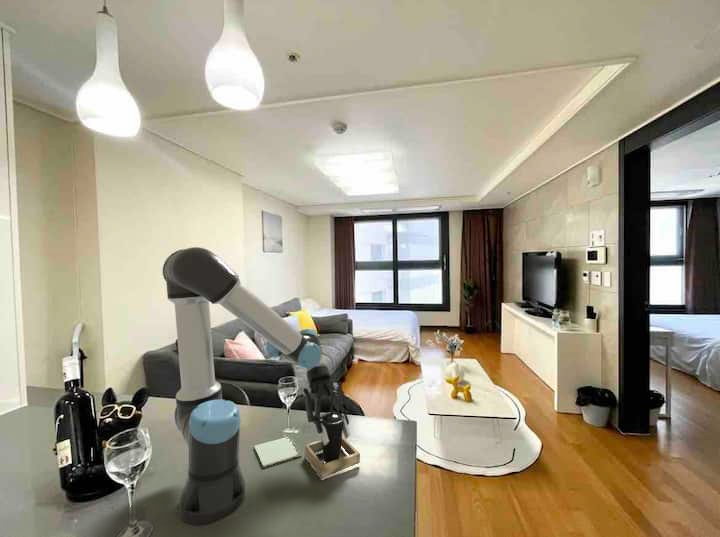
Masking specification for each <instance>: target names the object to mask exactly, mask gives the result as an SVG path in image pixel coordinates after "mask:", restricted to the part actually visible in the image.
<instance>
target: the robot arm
mask: <svg viewBox="0 0 720 537" xmlns="http://www.w3.org/2000/svg"><path fill="white" fill-rule="evenodd" d="M162 275H163V276H162V277H163V279H164V281H165V282H166V294H167V300H168V301H170V302H171V303H173V305H174V311H175V313H174V314H175V326H176V337H177V349H178V350H177V351H178V360H179V361H178V363H179V374H180V385H181V387H180V389H179V390H178V391H177V393H176V395H175V402H176V405H175V410H174V422H175V426H176V427H177V429H178V430H179V431H180V433H181V435H182V438H183V439H184V441H185V442H186V445H187V447H188V461H187V462H188V463H187V464H188V465H187V471H188V472H187V478H186V481H185V484H184V487H183V490H182V493H181V496H180V498H179V503H178V504H179V505H178V508H179V510H178V512H179V513H178V514H179V517H180V518H181V519H182V521H184V522H185V523H188V524H191V525H206V524H211V523H215V522H218V521H221V520H222V519H225V518H227V517H228V516H230V515H232V514H233V513H234V512H236V510H238V508H240V507H241V505H242V504H243V502H244V500H245V497H246V481H245V478H244V475H243V472H242V470H241V467H240V464H239V463H240V433H241V432H240V430H241V428H240V426H241V415H240V409H239V406H238V405H237V404H236V403H234V402H233V401H231V400H226V399H223V394H222V393H223V392H222V391H223V390H222V385H221V383H220V382H218V381H216V376H215V363H214V351H213V338H212V337H213V336H212V327H211V326H212V324H211V311H210V303H211V304H212V305H216V304H219V305H220V306H222V307H223V308H224V309H225V310H227V311H228V312H230V313H231V314H232V315H234V316H235V317H236V318H237V319H238V320H239V321H241V322H242V323H244V324H245V325H246V326H247V327H249V328H250V329H252V330H253V331H254V332H255V333H257V334H258V335H260V336H261V337H262V338H263V339H264V340H266V347H265V349H266V353H267V355H268V356H269V357H273V358H283V359H285V360H287V361H289V362H293V363H295V364H296V365H299V366H300V367H301V368H304V371H305V373H306V378H307V382H308V386H309V387H307V388H306V387H305V388H303V390H302V391H301V394H302V397H303V399H304V404H305V411H306V415H307V416H306V417H307V422H308V423H313V424H314V425H315V428H316V432H317V434H320V435H321V436H320V437H321V440H323V444H324V445H327V443H328V442H329V439H328V435H327V432H326V428H325V427H324V425H323V424H322V423H320V421H322V420H323V419H321V420H320V416H321V406H322V404H321V402H322V398H327V400H329V401H330V402H331V397H333V408H335V409H336V412H337V413H340V414H341V415H343V416H344V421H343V429H342V434H343V435H344V436H343V437H344V438H345V439H346V440H347V439H348V438H349V437H350V436H351V432H350V430H349V429H350V428H349V423H350V421H349V418H348V415H347V414H348V412H349V411H350V410H351V406H350V404H349V402H348V400H347V397H346V394H345V392H344V391H343V387H342V382H341V381H338V382H334V381H333V380H332V378H331V374H330V371H329V368H328V367H327V366H328V365H327V362H326V359H325V356H324V353H323V350H322V349H323V348H322V346H321V342H320V338H319V337H318V334H317V332H316V330H314V329H313V328H306V329H305V328H303V329H302V330H299V331H298V330H296V329H295V328H294V327H293V326H292V325H291V324H290V323H289V322H287V321H286V320H285V319H284V318H283V317H281V315H279V314H278V313H277V312H276V311H275V310H273V309H272V308H271V307H270V306H269V305H268V304H266V303H265V302H264V301H263V300H262V299H261V298H259V296H257V295H256V294H255V293H254V292H253V291H251V290H250V289H249V288H247V286H246V285H244V284H243V283H242V282H241V277H240V275H239V274H237V273H236V272H235V271H234V269H232V268H231V267H230V266H229V265H228V264H226V262H225V261H223V260H222V259H221V258H220V257H219V256H218V255H217V254H215V253H214V252H213V251H211V250H209V249H206V248H204V247H197V246H195V247H194V246H193V247H188V248H183V249H179V250H175V251H174V252H172V253H171V254H170V255H168V257H167V258H166V259H165V261H164V263H163V266H162ZM333 388H334V390H335V391H334V390H333ZM335 392H336V394H335ZM311 394H313V395H314V410H313V404H312V398H311ZM336 395H337V396H336ZM232 512H233V513H232ZM229 514H230V515H229ZM224 517H225V518H224Z"/></svg>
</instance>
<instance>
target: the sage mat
mask: <svg viewBox="0 0 720 537" xmlns="http://www.w3.org/2000/svg"><path fill="white" fill-rule="evenodd" d="M288 437H289V436H286V437H282V438H279V439H278V438H277V439H275V440H271V441H266V442H263V443H261V444H260V443H259V444H256V445H253V448H254V447H255V449H254V451H255V450H256V451H255V453H256V452H257V454H258V456H259V458H260V460H259V462H260V461H261V463H262V465H263V466H266V465H269V464H272V463H275V462H278V461H281V460H284V459H287V458H291V457H293V456H296V455H297V453H298V452H296V450H295V449H296V448H295V447H294V446H293V445H292V444H293V443H292V441H293V440H292V441H290V439H289V438H288ZM287 438H288V439H287ZM289 441H290V442H289ZM294 448H295V449H294ZM257 454H256V455H257ZM258 456H257V457H258ZM259 458H258V459H259ZM261 463H260V464H261ZM262 465H261V466H262Z"/></svg>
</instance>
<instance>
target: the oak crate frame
mask: <svg viewBox="0 0 720 537" xmlns="http://www.w3.org/2000/svg"><path fill="white" fill-rule="evenodd" d="M341 446H342V447H343V448H344V449H345V451H346V452H347V453H348V454H349V456H346V455H345V456H343V457H340V459H337V460H334V461H331V462H328V463H325V464H324V463H322V461H321V459H320V458H319V457H318V455H317V456H316V455H315V453H316V452H319V451H321V450H323V447H322V439H321V440H316V441H314V442H311V443H307V444H304V456H305V455H306V457H307V458H308V460H309V461H310V462H311V464H312V465H313V467H314V468H315V470H316V472H317V473H318V475H319V476H320V478H321V479H322V478H324V477H327V476H329V475H331V474H334V473H336V472H338V471H341V470H343V469H345V468H348V467H350V466H353V465H355V464H358V463H360V464H361V453H360V452H359V451H358V450H357V449H356V448H355V447H354V446H353V445H352V444H351V443H350V442H349V441H348V440H347V439H345V436H343V435H342V440H341Z"/></svg>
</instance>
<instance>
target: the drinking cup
mask: <svg viewBox="0 0 720 537" xmlns="http://www.w3.org/2000/svg"><path fill="white" fill-rule="evenodd" d="M321 419H323V420H322V421H320V423H322V424H323V425H324V427H325V428H326V432H327V435H328V439H329V442H328V443H327V445H324V444H323V440H322V439H321V440H322V447H323V454H322V458H323V462H324V461H325V462H326V463H328V462H331V461H334V460H337V459H340V458H341V440H342V436H343V430H342V429H343V421H344V416H343V415H341V414H340V413H338V411H334V405H333V397H331V401H330V411H329V412H326V413H322V415H321V414H320V420H321Z"/></svg>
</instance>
